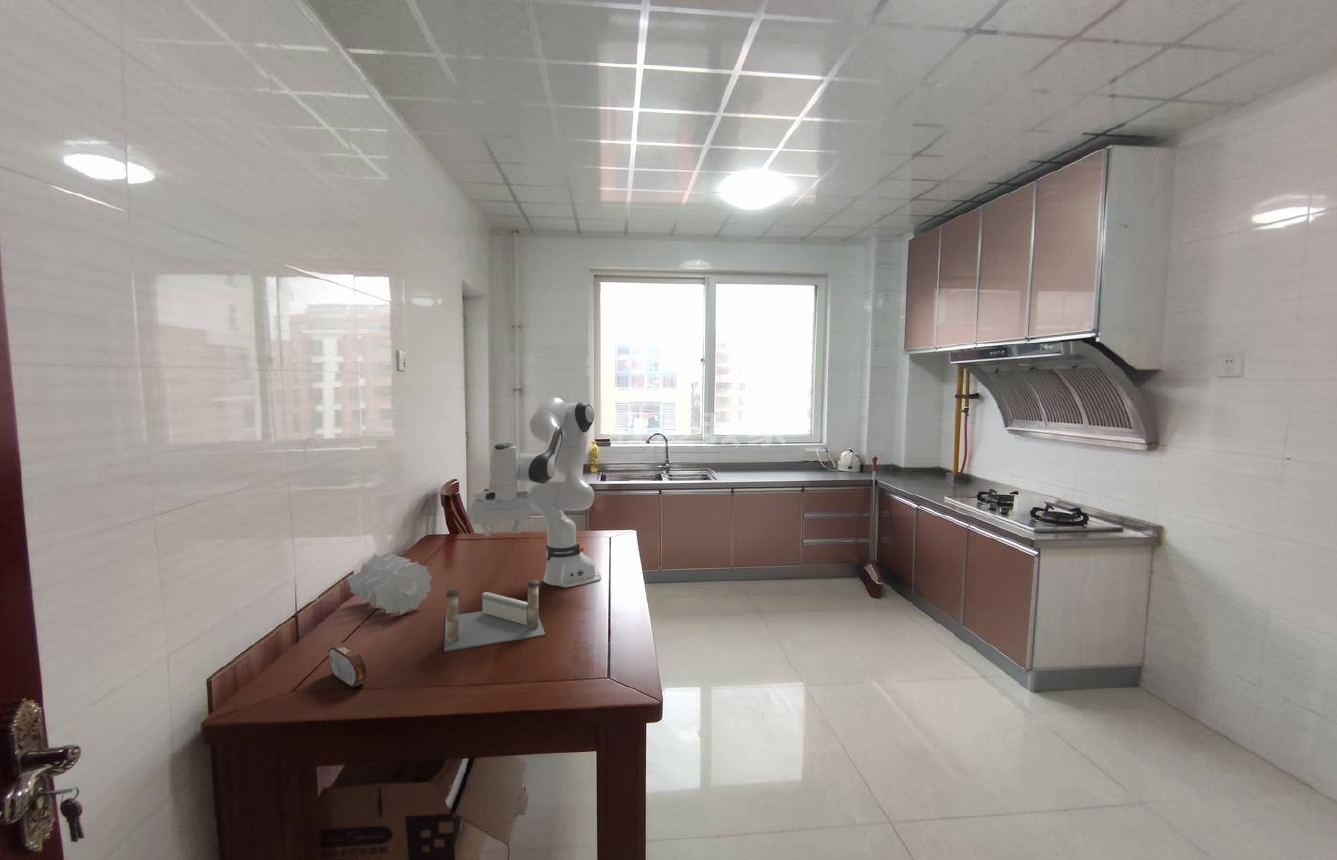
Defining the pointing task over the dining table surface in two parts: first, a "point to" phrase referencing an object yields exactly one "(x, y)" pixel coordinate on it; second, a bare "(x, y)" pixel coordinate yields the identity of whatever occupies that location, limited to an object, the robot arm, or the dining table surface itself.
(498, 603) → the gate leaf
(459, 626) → the mat
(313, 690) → the dining table surface
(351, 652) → the tin
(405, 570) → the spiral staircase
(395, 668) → the dining table surface
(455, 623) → the gate posts
